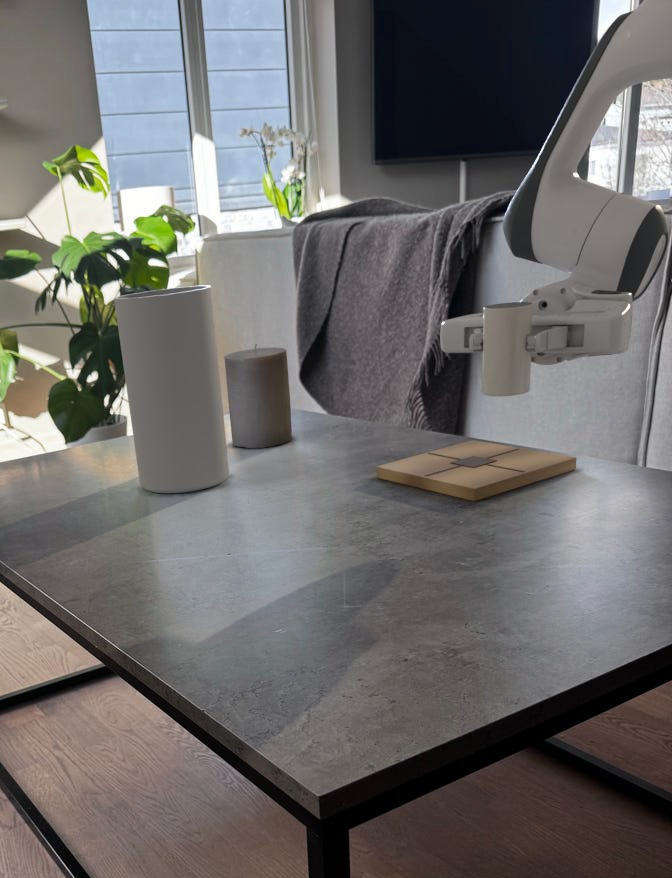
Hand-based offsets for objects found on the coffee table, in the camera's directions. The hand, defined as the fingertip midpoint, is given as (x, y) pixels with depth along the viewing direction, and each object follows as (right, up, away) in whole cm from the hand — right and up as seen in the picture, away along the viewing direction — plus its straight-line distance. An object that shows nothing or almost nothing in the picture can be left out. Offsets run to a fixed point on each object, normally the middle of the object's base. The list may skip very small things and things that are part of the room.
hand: (504, 343), depth 97 cm
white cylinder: (+1, -4, +3) cm, 5 cm away
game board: (+2, -11, +18) cm, 21 cm away
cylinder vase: (-34, -10, +30) cm, 47 cm away
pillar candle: (-22, 0, +48) cm, 53 cm away
